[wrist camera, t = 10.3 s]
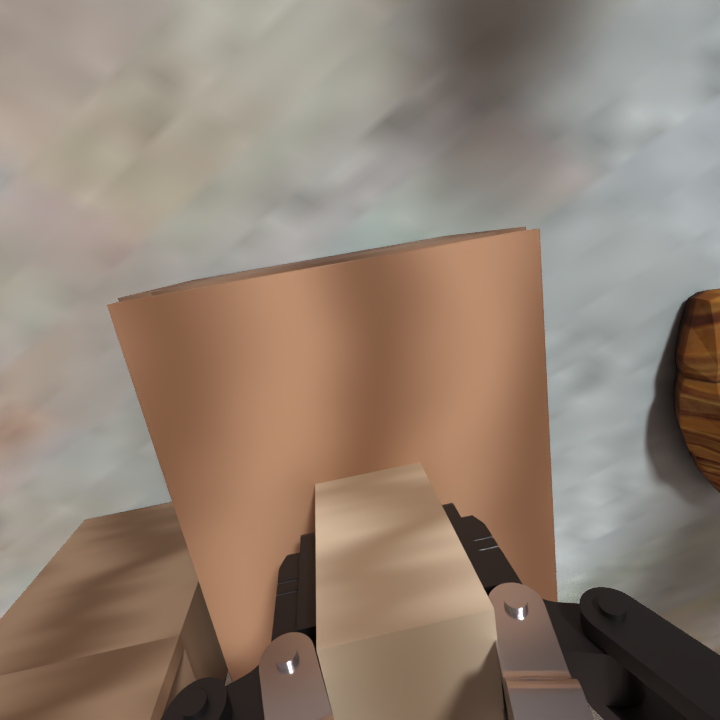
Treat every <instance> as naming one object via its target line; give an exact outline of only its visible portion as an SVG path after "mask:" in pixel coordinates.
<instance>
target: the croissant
mask: <svg viewBox="0 0 720 720" xmlns="http://www.w3.org/2000/svg"><path fill="white" fill-rule="evenodd" d="M675 359H676V364H677V372H676V377H675V382H674V409H675V412H676V415H677V419H678V422H679V425H680V428H681V431H682V433H683V436H684V439H685V442H686V444H687V447H688V449H689V453H690V455H691V457H692V458H693V460H694V462H695V464H696V466H697V467H698V469H699V470H700V471H701V472H702V473H703V474H704V476H705V477H706V478H707V479H708V480H709V481H710V483H711V484H712V485H713V487H715V488H716V489H717V490H718V491H719V492H720V289H713V290H706V291H701V292H697V293H695V294H694V295H692V296H691V297H689V298H688V301H687V304H686V307H685V310H684V313H683V316H682V319H681V323H680V328H679V334H678V339H677V344H676V350H675Z"/></svg>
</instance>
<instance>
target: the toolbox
mask: <svg viewBox="0 0 720 720" xmlns="http://www.w3.org/2000/svg"><path fill="white" fill-rule="evenodd" d="M523 230H526V227H519V228H510V229H501V230H493V231H484V232H475V233H466V234H458V235H449V236H443V237H437V238H432V239H426V240H420V241H415V242H409V243H403V244H397V245H392V246H386V247H380V248H375V249H369V250H363V251H357V252H352V253H346V254H340V255H335V256H329V257H323V258H317V259H312V260H306V261H300V262H295V263H289V264H283V265H277V266H272V267H266V268H260V269H254V270H249V271H243V272H237V273H232V274H226V275H220V276H214V277H209V278H203V279H197V280H192V281H187V282H183V283H179V284H175V285H171V286H167V287H163V288H158V289H154V290H150V291H146V292H142V293H138V294H134V295H129V296H125V297H121V298H118V300H119V302H120V301H125V300H130V299H136V298H142V297H147V296H153V295H159V294H165V293H170V292H176V291H182V290H187V289H193V288H199V287H204V286H210V285H216V284H221V283H227V282H233V281H238V280H244V279H250V278H256V277H261V276H267V275H273V274H278V273H284V272H290V271H295V270H301V269H307V268H312V267H318V266H324V265H329V264H335V263H341V262H347V261H352V260H358V259H364V258H369V257H375V256H381V255H386V254H392V253H398V252H403V251H409V250H415V249H420V248H426V247H432V246H437V245H443V244H449V243H455V242H460V241H466V240H472V239H477V238H483V237H489V236H494V235H500V234H506V233H511V232H517V231H523ZM227 671H228V668H227V665H226V662H225V659H224V656H223V653H222V650H221V647H220V644H219V641H218V638H217V635H216V632H215V629H214V626H213V623H212V620H211V617H210V614H209V611H208V608H207V605H206V602H205V599H204V596H203V593H202V590H201V587H200V584H199V581H198V577H197V574H196V571H195V568H194V565H193V562H192V559H191V556H190V553H189V550H188V547H187V544H186V541H185V538H184V535H183V532H182V529H181V526H180V523H179V520H178V517H177V514H176V511H175V508H174V505H173V502H169V503H165V504H160V505H155V506H150V507H145V508H140V509H135V510H131V511H126V512H121V513H116V514H111V515H106V516H102V517H97V518H92V519H87V520H84V522H83V523H82V524H81V525H80V526H79V528H78V529H77V530H76V531H75V532H74V533H73V535H72V536H71V537H70V538H69V539H68V540H67V542H66V543H65V544H64V545H63V546H62V548H61V549H60V550H59V551H58V552H57V553H56V555H55V556H54V557H53V558H52V559H51V560H50V562H49V563H48V564H47V565H46V566H45V568H44V569H43V570H42V571H41V572H40V573H39V575H38V576H37V577H36V578H35V579H34V580H33V582H32V583H31V584H30V585H29V586H28V588H27V589H26V590H25V591H24V592H23V593H22V595H21V596H20V597H19V598H18V599H17V601H16V602H15V603H14V604H13V605H12V606H11V608H10V609H9V610H8V611H7V612H6V613H5V615H4V616H3V617H2V618H1V619H0V720H161V718H162V716H163V715H164V713H165V712H166V710H167V708H168V707H169V705H170V704H171V702H172V701H173V699H174V698H175V697H176V696H177V694H178V693H179V692H180V691H181V690H183V689H184V688H185V687H186V686H188V685H189V684H191V683H192V682H194V681H196V680H198V679H201V678H206V677H214V678H217V679H219V680H221V681H222V682H223V683H224V685H225V681H226V676H227Z"/></svg>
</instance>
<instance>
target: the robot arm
mask: <svg viewBox="0 0 720 720" xmlns="http://www.w3.org/2000/svg"><path fill="white" fill-rule="evenodd" d="M442 507H443V509H444V511H445V513H446V514H447V516H448V518H449V520H450V522H451V524H452V526H453V528H454V530H455V532H456V534H457V536H458V538H459V540H460V542H461V544H462V546H463V548H464V550H465V552H466V554H467V556H468V558H469V560H470V562H471V564H472V566H473V568H474V570H475V572H476V574H477V576H478V578H479V580H480V582H481V584H482V586H483V588H484V590H485V592H486V594H487V596H488V598H489V600H490V601H491V603H492V605H493V607H494V612H495V622H496V632H497V640H495V642H496V652H497V659H498V664H499V669H500V674H501V682H502V692H503V702H504V709H502V711H503V720H594V719H593V716H592V713H591V711H590V708H589V705H588V703H589V704H590V706H591V707H592V708H593V709H594V710H595V711H596V712H597V713H598V714H599V715H600V716H601V717H602V718H603V719H604V720H720V655H718V654H717V653H715V652H714V651H712V650H711V649H709V648H708V647H706V646H705V645H703V644H702V643H700V642H699V641H697V640H696V639H694V638H692V637H691V636H689V635H688V634H686V633H685V632H683V631H682V630H680V629H679V628H677V627H676V626H674V625H673V624H671V623H670V622H668V621H667V620H665V619H664V618H662V617H660V616H659V615H657V614H656V613H654V612H653V611H651V610H650V609H648V608H647V607H645V606H644V605H642V604H641V603H639V602H638V601H636V600H635V599H633V598H632V597H630V596H628V595H627V594H625V593H623V592H621V591H618V590H615V589H611V588H605V587H597V588H592V589H589V590H587V591H586V592H585V593H584V594H583V595H582V596H581V599H580V604H577V603H561V602H553V601H548V600H545V599H542V598H541V597H540V595H539V594H538V593H537V592H536V591H534V590H533V589H531V588H530V587H528V586H525V585H523V583H522V582H521V580H520V579H519V577H518V576H517V574H516V573H515V571H514V569H513V568H512V566H511V565H510V563H509V561H508V560H507V558H506V557H505V555H504V553H503V552H502V550H501V549H500V547H498V544H497V542H496V541H495V539H494V538H493V537H492V534H491V533H490V531H489V530H488V528H487V526H486V525H485V524H484V523H483V522H482V521H480V520H479V519H477V518H476V517H474V516H473V515H470V516H466V517H461V516H460V514H459V513H458V511H457V509H456V507H455V505H454V504H453V503H449V504H444V505H442ZM277 583H278V585H277V592H276V596H277V597H276V601H275V611H274V620H273V629H272V639H271V643H270V644H269V645H268V646H267V647H266V649H265V650H264V652H263V654H262V656H261V658H260V662H259V665H258V666H257V667H256V668H255V669H253V670H252V671H251V672H249V673H248V674H246V675H245V676H243V677H241V678H239V679H238V680H236V681H234V682H232V683H230V684H229V685H227V686H225V685H224V683H223V682H222V681H221V680H219V679H217V678H214V677H206V678H201V679H198V680H196V681H194V682H192V683H191V684H189V685H188V686H186V687H185V688H184V689H183V690H181V691H180V692H179V693H178V694H177V696H176V697H175V698H174V699H173V701H172V702H171V704H170V705H169V707H168V708H167V710H166V712H165V713H164V715H163V716H162V718H161V720H334V719H333V714H332V710H331V706H330V702H329V698H328V694H327V690H326V686H325V682H324V678H323V674H322V670H321V666H320V662H319V658H318V654H317V650H316V532H313V533H308V534H303V535H301V537H300V552H299V553H295V554H290V555H287V556H286V557H285V559H284V561H283V563H282V564H281V566H280V568H279V573H278V582H277Z"/></svg>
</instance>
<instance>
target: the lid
mask: <svg viewBox="0 0 720 720" xmlns="http://www.w3.org/2000/svg"><path fill="white" fill-rule="evenodd" d="M107 306H108V309H109V312H110V315H111V318H112V321H113V324H114V327H115V330H116V333H117V336H118V340H119V343H120V346H121V349H122V352H123V355H124V358H125V361H126V364H127V367H128V370H129V373H130V376H131V379H132V382H133V385H134V388H135V391H136V394H137V397H138V400H139V403H140V406H141V409H142V412H143V415H144V418H145V421H146V424H147V427H148V430H149V433H150V436H151V439H152V442H153V445H154V448H155V451H156V454H157V457H158V460H159V463H160V466H161V469H162V472H163V475H164V478H165V481H166V484H167V487H168V490H169V493H170V496H171V499H172V502H173V505H174V508H175V511H176V514H177V517H178V520H179V523H180V526H181V529H182V532H183V535H184V538H185V541H186V544H187V547H188V550H189V553H190V556H191V559H192V562H193V565H194V568H195V571H196V574H197V577H198V581H199V584H200V587H201V590H202V593H203V596H204V599H205V602H206V605H207V608H208V611H209V614H210V617H211V620H212V623H213V626H214V629H215V632H216V635H217V638H218V641H219V644H220V647H221V650H222V653H223V656H224V659H225V662H226V665H227V668H228V671H229V674H230V677H231V680H232V682H234V681H236V680H238V679H239V678H241V677H243V676H245V675H246V674H248V673H249V672H251V671H252V670H253V669H255V668H256V667H257V666H258V665H259V662H260V658H261V656H262V654H263V652H264V650H265V649H266V647H267V646H268V645H269V644H270V643H271V639H272V629H273V620H274V611H275V601H276V597H277V596H276V592H277V585H278V583H277V582H278V573H279V568H280V566H281V564H282V563H283V561H284V559H285V557H286V556H287V555H290V554H295V553H299V552H300V537H301V535H303V534H308V533H313V532H316V650H317V654H318V658H319V662H320V666H321V670H322V674H323V678H324V682H325V686H326V690H327V694H328V698H329V702H330V706H331V710H332V714H333V719H334V720H503V711H502V709H504V702H503V692H502V682H501V674H500V669H499V664H498V659H497V652H496V642H495V640H497V632H496V622H495V612H494V607H493V605H492V603H491V601H490V600H489V598H488V596H487V594H486V592H485V590H484V588H483V586H482V584H481V582H480V580H479V578H478V576H477V574H476V572H475V570H474V568H473V566H472V564H471V562H470V560H469V558H468V556H467V554H466V552H465V550H464V548H463V546H462V544H461V542H460V540H459V538H458V536H457V534H456V532H455V530H454V528H453V526H452V524H451V522H450V520H449V518H448V516H447V514H446V513H445V511H444V509H443V507H442V505H444V504H449V503H453V504H454V505H455V507H456V509H457V511H458V513H459V514H460V516H461V517H466V516H470V515H473V516H474V517H476V518H477V519H479V520H480V521H482V522H483V523H484V524H485V525H486V526H487V528H488V530H489V531H490V533H491V534H492V537H493V538H494V539H495V541H496V542H497V544H498V547H500V549H501V550H502V552H503V553H504V555H505V557H506V558H507V560H508V561H509V563H510V565H511V566H512V568H513V569H514V571H515V573H516V574H517V576H518V577H519V579H520V580H521V582H522V583H523V585H525V586H528V587H530V588H531V589H533V590H534V591H536V592H537V593H538V594H539V595H540V597H541V598H542V599H545V600H548V601H553V602H557V581H556V560H555V539H554V518H553V498H552V477H551V456H550V435H549V414H548V393H547V372H546V351H545V330H544V310H543V289H542V268H541V247H540V229H532V230H523V231H517V232H511V233H506V234H500V235H494V236H489V237H483V238H477V239H472V240H466V241H460V242H455V243H449V244H443V245H437V246H432V247H426V248H420V249H415V250H409V251H403V252H398V253H392V254H386V255H381V256H375V257H369V258H364V259H358V260H352V261H347V262H341V263H335V264H329V265H324V266H318V267H312V268H307V269H301V270H295V271H290V272H284V273H278V274H273V275H267V276H261V277H256V278H250V279H244V280H238V281H233V282H227V283H221V284H216V285H210V286H204V287H199V288H193V289H187V290H182V291H176V292H170V293H165V294H159V295H153V296H147V297H142V298H136V299H130V300H125V301H120V302H116V303H113V304H109V305H107Z"/></svg>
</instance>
